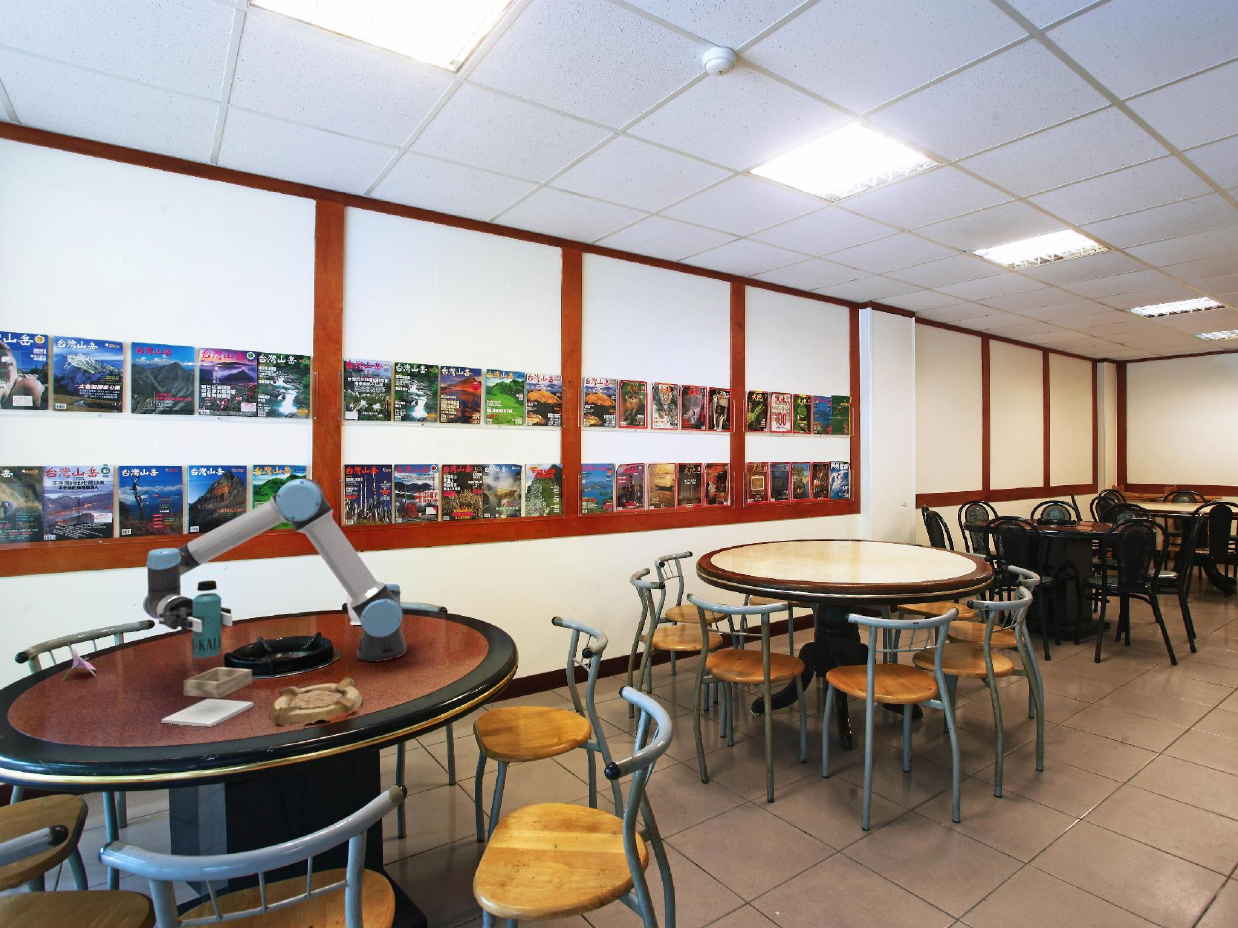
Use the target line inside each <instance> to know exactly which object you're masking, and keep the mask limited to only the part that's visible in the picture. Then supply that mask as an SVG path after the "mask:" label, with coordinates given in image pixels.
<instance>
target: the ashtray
mask: <svg viewBox="0 0 1238 928" xmlns="http://www.w3.org/2000/svg"><path fill="white" fill-rule="evenodd" d="M354 685H355V680H353V679H352V678H350V677H347V676H345V677H344V678H343V679H342V680H341V681H340V682H339V683H333V682H332V683H323V684H322V683H321V684H316V685H315V684H314V685H310V686H306V687H302V688H298V687H297V686H289V687H286V688H282V689H280V690H278V692H277V693H278V694H279V696H280V697H279V698H277V699H276V700H275V701H274V703H273V705H272V706H271V707H270V709H269V711H268V719H269V721H270V720H271V721H272V722H271V721H270V722H271V723H273V722H275V723H277V724H276V725H279V724H280V725H279V726H281V725H286V724H289V725H294V724H306V723H307V724H308V723H312V724H315V723H316V722H317V721H319V720H324V721H326V722H328V721H327V720H329V719H332V717H336V716H340V715H341V714H345V713H348V712H349V711H352V710H354V709H355V708H357V707H358V706H359V705H360V704H361V703H362V704H363V696H362V695H361V693H360V691H359V690H358V689H357V688H355V687H354ZM308 725H309V724H308Z"/></svg>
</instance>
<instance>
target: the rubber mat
mask: <svg viewBox="0 0 1238 928" xmlns="http://www.w3.org/2000/svg"><path fill="white" fill-rule="evenodd" d="M252 707H254V701H243V700H242V701H241V700H230V699H228V700H227V699H220V698H206V699H204V700H201V701H200V702H197V703H195V704H193V705H190V706H188V707H186V708H185V709H182V710H179V711H178V712H175V713H173V714H170V715H169V716H166V717H163V718H162V719H161V723H171V724H170V725H172V723H173V724H179V725H178V726H183V725H192V726H191V727H193V726H209V727H211V726H213V725H215V726H217V725H218V724H217V723H219V724H221V723H223V722H225V721H227V720H229V719H231V718H233V717H235V716H237V715H240V714H241V713H243V712H245V711H247V710H249V709H250V708H252ZM224 720H225V721H224ZM222 721H223V722H222ZM220 722H221V723H220ZM216 724H217V725H216ZM213 727H214V726H213ZM211 728H212V727H211Z"/></svg>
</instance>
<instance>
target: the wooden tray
mask: <svg viewBox="0 0 1238 928" xmlns="http://www.w3.org/2000/svg"><path fill="white" fill-rule="evenodd" d="M252 684H253V669H247V668H235V667H234V668H233V667H221V666H220V667H219V666H218V667H214V668H211V669H209V670H206V671H204V672H202V673H200V674H197V675H195V676H192V677H190V678H189V677H188V678H187V679H184V680H183V696H188V697H189V696H190V697H202V698H211V699H221V698H223V697H226V696H228V695H230V694H233V693H235V692H236V691H239V690H241V689H243V688H246V687H247V686H249V685H252Z"/></svg>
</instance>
